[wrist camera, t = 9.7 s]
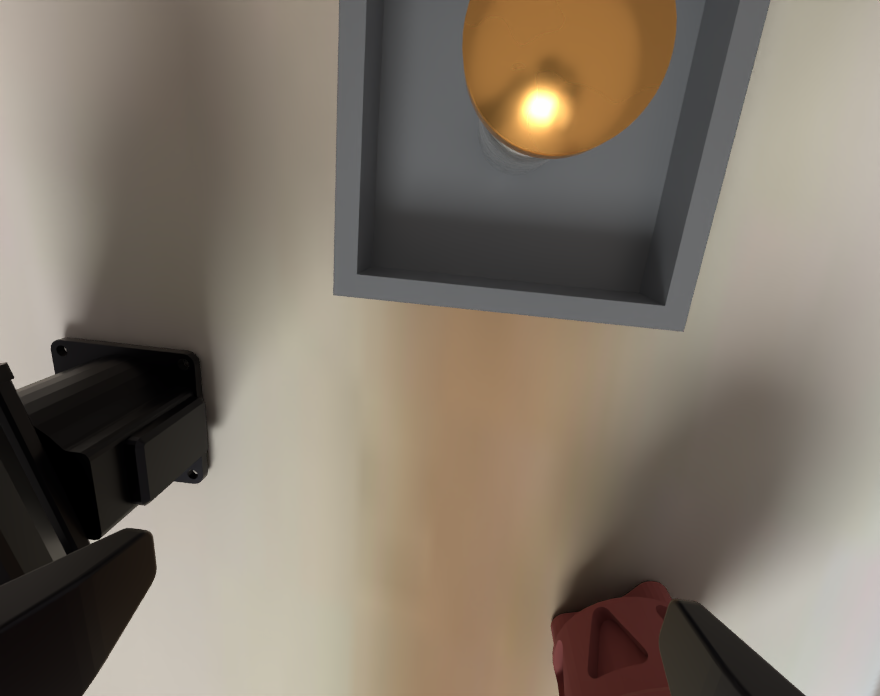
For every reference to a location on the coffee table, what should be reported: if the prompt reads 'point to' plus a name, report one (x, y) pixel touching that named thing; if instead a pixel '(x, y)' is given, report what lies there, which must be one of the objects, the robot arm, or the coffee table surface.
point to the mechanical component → (613, 646)
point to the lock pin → (561, 73)
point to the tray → (528, 176)
